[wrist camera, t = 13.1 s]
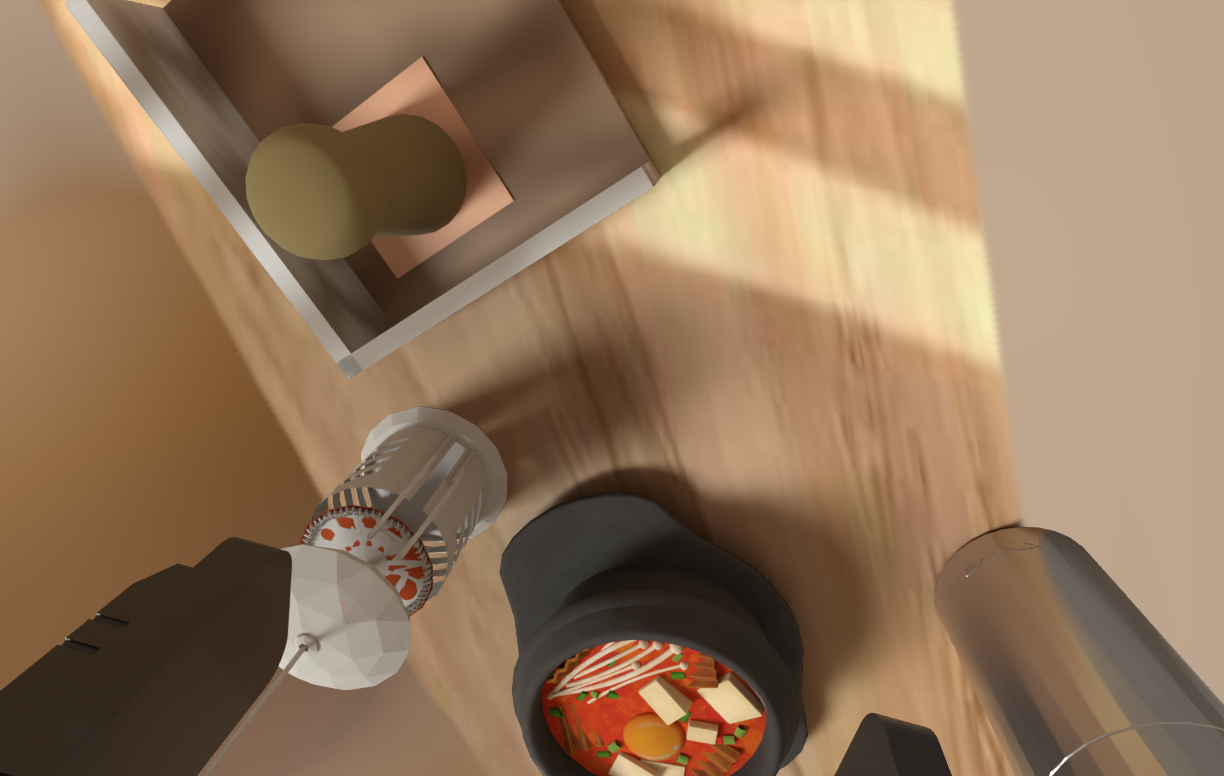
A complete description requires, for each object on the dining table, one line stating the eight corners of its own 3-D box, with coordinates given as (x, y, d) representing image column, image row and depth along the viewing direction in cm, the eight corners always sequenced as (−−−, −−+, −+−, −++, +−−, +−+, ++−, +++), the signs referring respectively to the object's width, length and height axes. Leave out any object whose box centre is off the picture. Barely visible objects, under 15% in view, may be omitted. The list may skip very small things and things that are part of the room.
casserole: (444, 547, 46) (392, 634, 38) (687, 427, 41) (684, 499, 33) (635, 797, 52) (623, 915, 44) (868, 721, 47) (901, 840, 39)
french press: (333, 480, 45) (-57, 857, 22) (427, 354, 41) (71, 654, 18) (453, 568, 46) (205, 1010, 23) (556, 455, 42) (379, 855, 19)
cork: (335, 138, 35) (186, 145, 25) (437, 95, 34) (324, 84, 24) (385, 250, 37) (265, 298, 27) (484, 213, 36) (398, 250, 26)
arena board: (661, 176, 36) (653, 187, 30) (401, 341, 41) (348, 379, 35) (434, -221, 31) (369, -304, 25) (171, 24, 36) (64, 4, 30)
